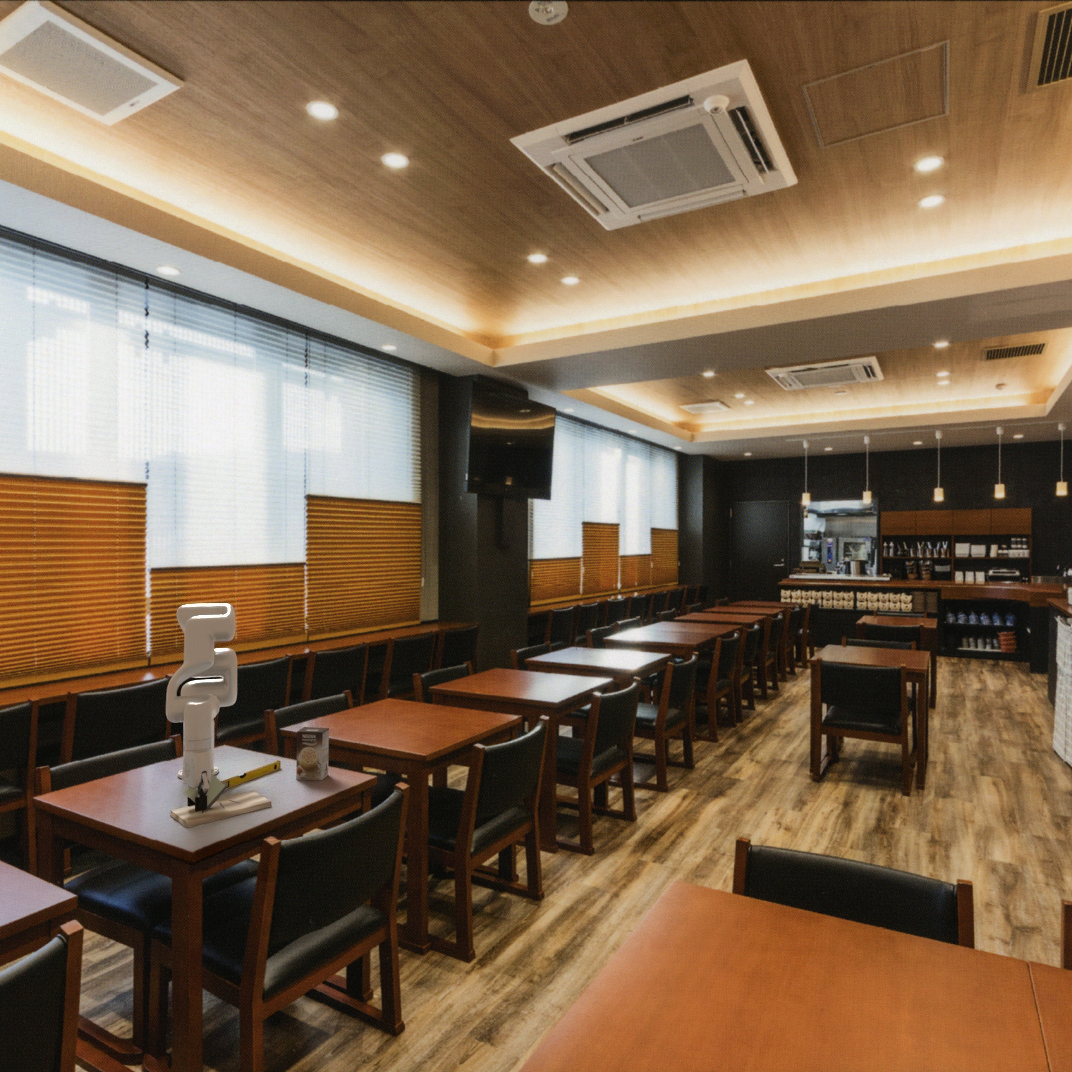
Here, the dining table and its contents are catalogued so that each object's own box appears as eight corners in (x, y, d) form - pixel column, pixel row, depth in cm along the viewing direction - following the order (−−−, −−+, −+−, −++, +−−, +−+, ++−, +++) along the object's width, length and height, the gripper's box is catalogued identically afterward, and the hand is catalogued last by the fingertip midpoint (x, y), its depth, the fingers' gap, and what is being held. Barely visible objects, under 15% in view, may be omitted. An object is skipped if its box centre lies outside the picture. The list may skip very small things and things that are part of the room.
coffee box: (295, 779, 243) (295, 731, 243) (303, 774, 249) (303, 726, 250) (321, 780, 242) (322, 732, 242) (329, 774, 249) (329, 727, 249)
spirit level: (277, 769, 256) (277, 760, 256) (280, 769, 255) (280, 760, 255) (197, 798, 225) (197, 789, 226) (200, 799, 225) (200, 789, 225)
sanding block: (200, 806, 213) (183, 792, 210) (221, 783, 217) (204, 769, 214) (206, 811, 210) (189, 797, 206) (227, 787, 214) (211, 773, 211)
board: (170, 815, 211) (170, 809, 211) (252, 795, 228) (252, 790, 228) (186, 827, 201) (186, 822, 201) (271, 806, 218) (271, 801, 218)
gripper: (173, 740, 214) (173, 803, 214) (195, 752, 202) (194, 819, 201) (200, 736, 219) (199, 797, 219) (222, 747, 207) (222, 812, 207)
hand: (197, 807), depth 210 cm, fingers closed on sanding block, 5 cm apart
